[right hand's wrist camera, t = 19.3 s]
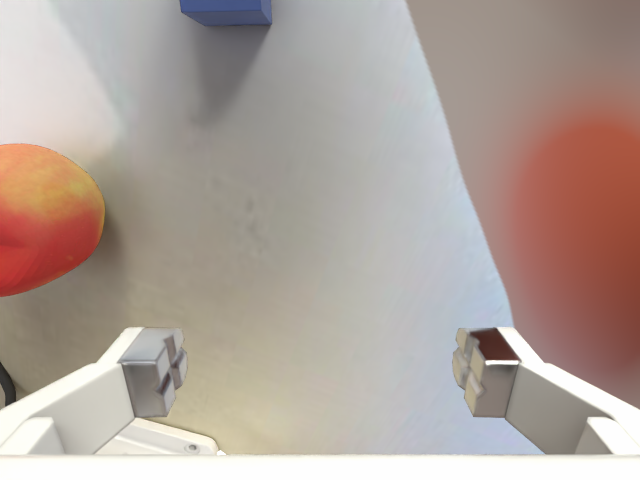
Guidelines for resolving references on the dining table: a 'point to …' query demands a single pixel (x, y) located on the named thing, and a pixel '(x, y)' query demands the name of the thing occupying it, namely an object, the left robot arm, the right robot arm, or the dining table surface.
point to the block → (228, 12)
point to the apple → (44, 217)
